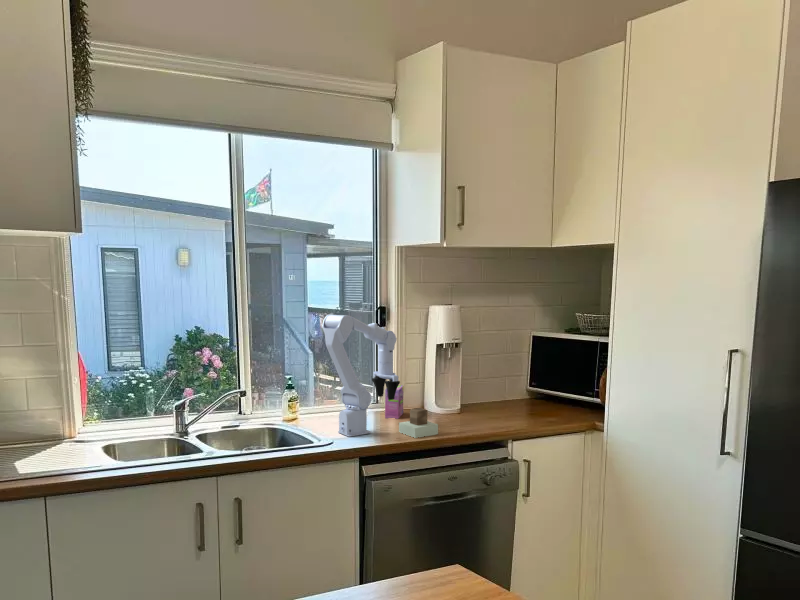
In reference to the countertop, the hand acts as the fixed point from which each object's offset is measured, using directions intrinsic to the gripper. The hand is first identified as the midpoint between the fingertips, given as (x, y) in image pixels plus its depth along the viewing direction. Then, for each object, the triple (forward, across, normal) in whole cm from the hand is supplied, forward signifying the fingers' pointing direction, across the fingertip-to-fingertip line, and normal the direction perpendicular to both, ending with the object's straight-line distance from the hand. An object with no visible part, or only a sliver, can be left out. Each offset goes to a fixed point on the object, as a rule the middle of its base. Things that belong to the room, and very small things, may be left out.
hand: (385, 397), depth 226 cm
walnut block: (+7, -17, -3) cm, 19 cm away
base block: (+10, -17, -3) cm, 20 cm away
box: (+11, +12, -12) cm, 20 cm away
